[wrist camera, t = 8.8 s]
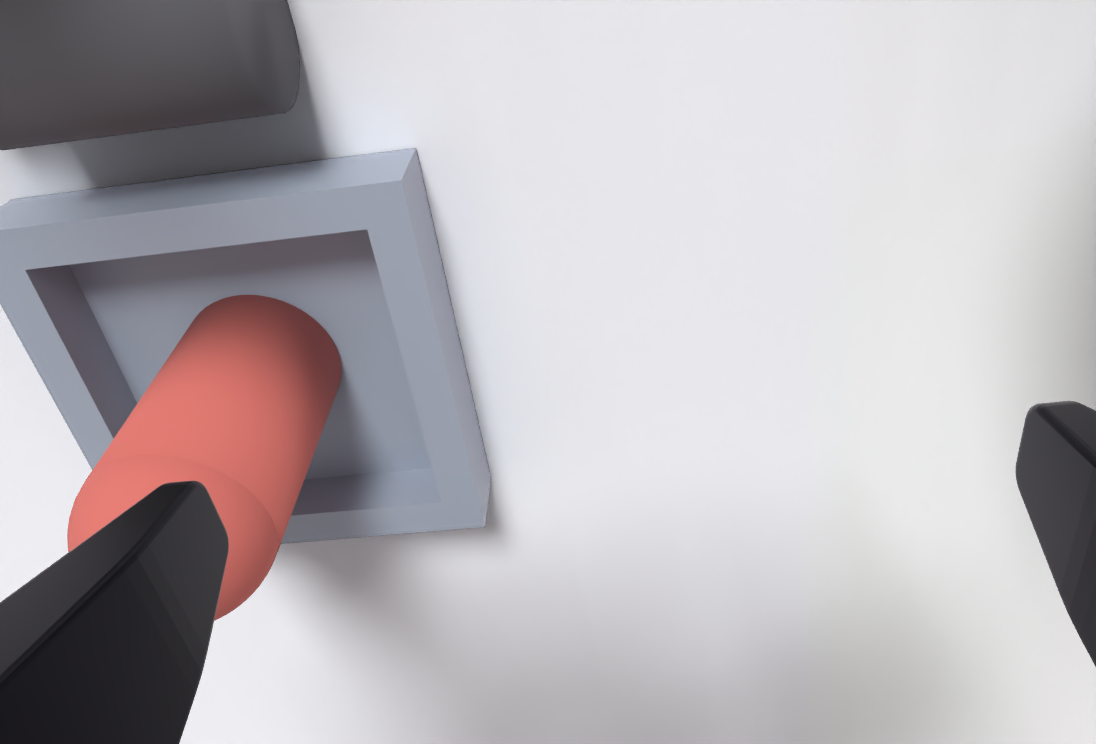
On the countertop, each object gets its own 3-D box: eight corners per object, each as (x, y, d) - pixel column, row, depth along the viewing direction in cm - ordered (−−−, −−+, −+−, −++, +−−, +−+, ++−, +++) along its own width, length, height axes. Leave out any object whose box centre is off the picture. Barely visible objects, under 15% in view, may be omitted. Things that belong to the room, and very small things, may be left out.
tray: (415, 147, 20) (401, 180, 18) (490, 479, 25) (485, 526, 24) (10, 199, 21) (-38, 234, 19) (167, 507, 26) (139, 555, 25)
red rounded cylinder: (320, 288, 21) (187, 569, 14) (356, 416, 24) (258, 714, 16) (163, 300, 22) (-47, 581, 14) (214, 424, 24) (55, 721, 17)
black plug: (243, -115, 17) (203, -18, 14) (309, 48, 19) (282, 149, 17) (-111, -58, 17) (-198, 42, 15) (1, 91, 20) (-60, 193, 18)
